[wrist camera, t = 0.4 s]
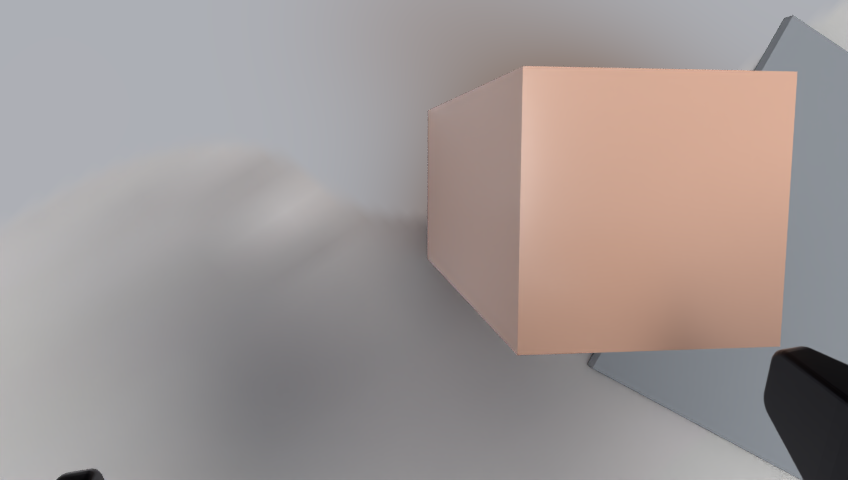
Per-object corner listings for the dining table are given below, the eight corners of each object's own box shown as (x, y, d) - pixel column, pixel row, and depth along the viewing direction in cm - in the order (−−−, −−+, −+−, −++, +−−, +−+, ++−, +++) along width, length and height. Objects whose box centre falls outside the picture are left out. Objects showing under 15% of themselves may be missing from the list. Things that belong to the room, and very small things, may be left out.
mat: (883, 522, 28) (893, 528, 28) (587, 364, 26) (592, 368, 25) (1069, 209, 27) (1082, 210, 27) (784, 17, 25) (793, 15, 25)
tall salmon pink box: (568, 256, 25) (780, 346, 13) (427, 258, 24) (517, 355, 13) (572, 112, 25) (797, 71, 13) (427, 110, 24) (523, 66, 12)
